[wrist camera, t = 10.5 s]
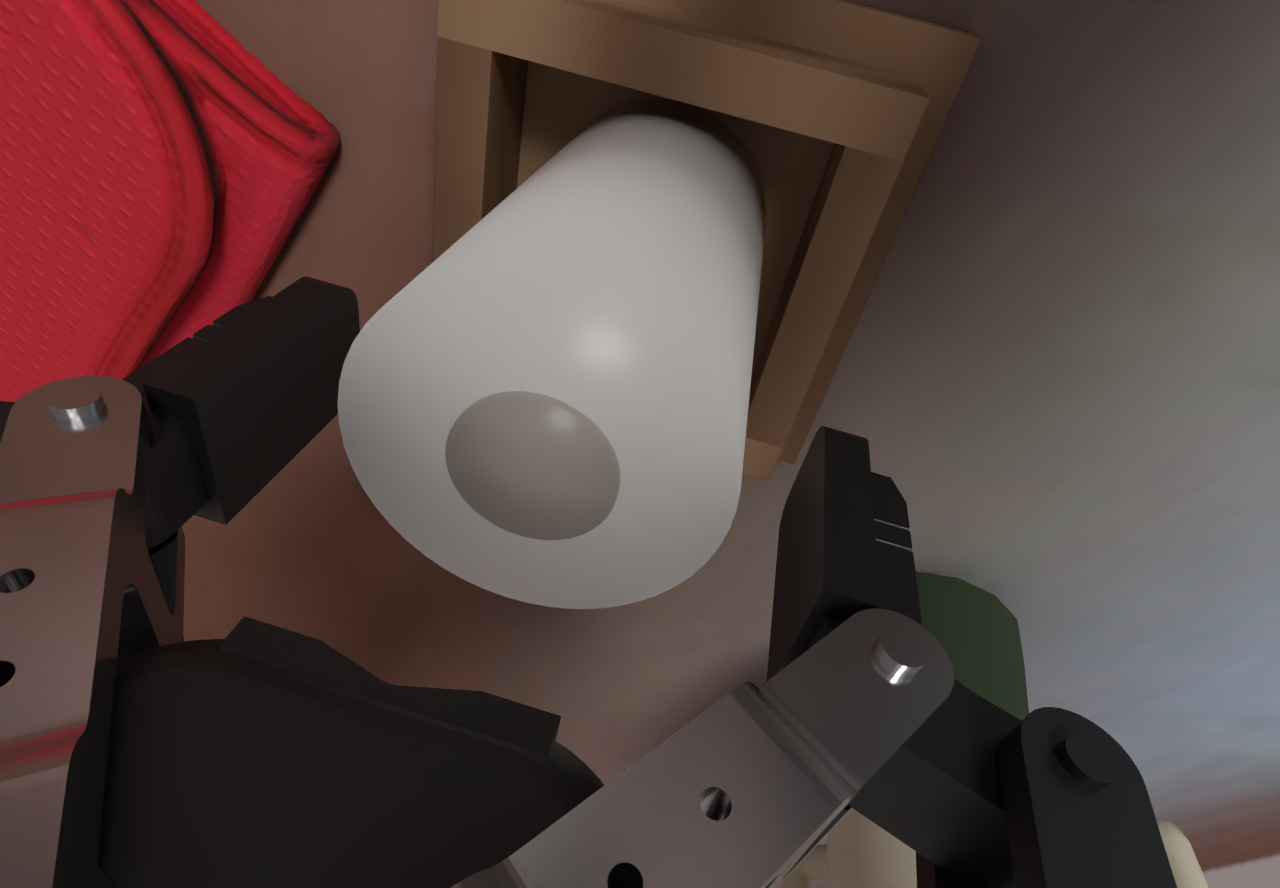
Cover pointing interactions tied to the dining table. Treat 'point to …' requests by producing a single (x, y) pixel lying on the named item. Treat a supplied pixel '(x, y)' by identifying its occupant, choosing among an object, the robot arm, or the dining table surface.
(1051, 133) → the dining table surface
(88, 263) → the red folded cloth
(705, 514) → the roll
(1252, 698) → the dining table surface
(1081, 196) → the dining table surface
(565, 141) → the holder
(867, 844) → the character mug
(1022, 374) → the dining table surface
